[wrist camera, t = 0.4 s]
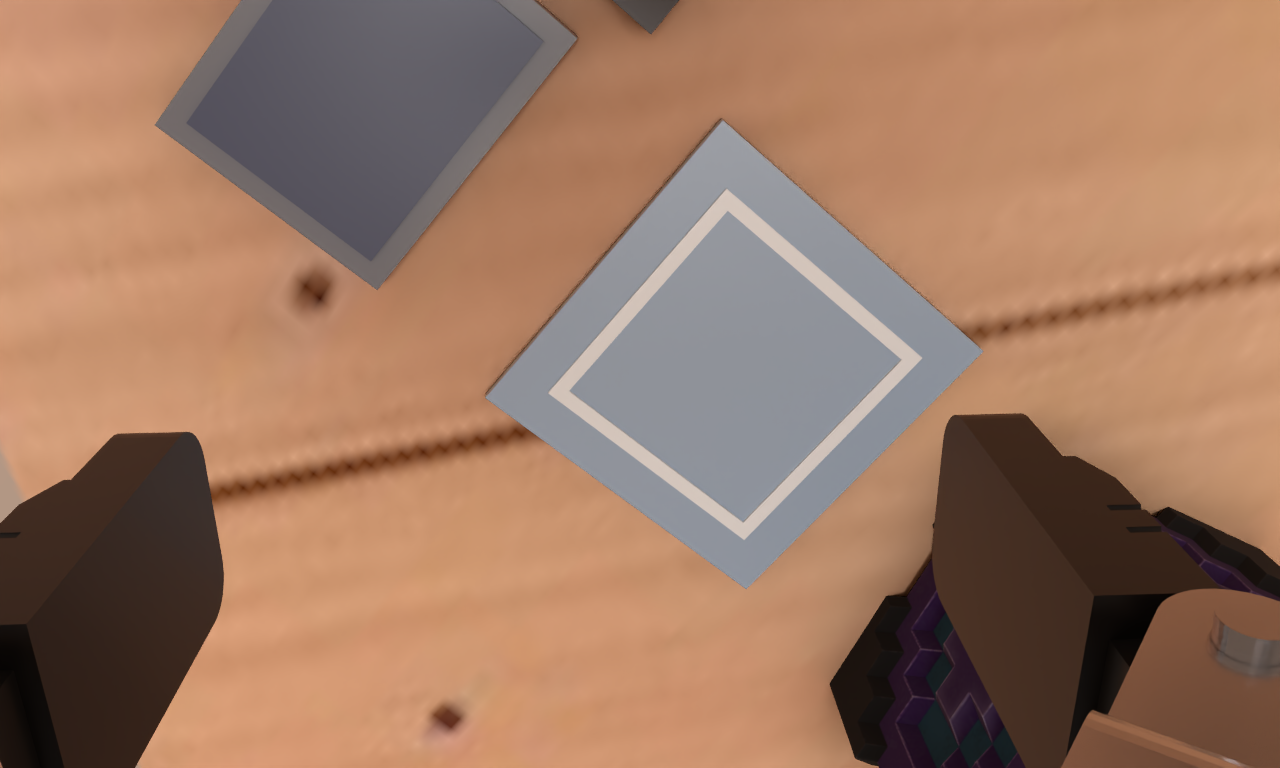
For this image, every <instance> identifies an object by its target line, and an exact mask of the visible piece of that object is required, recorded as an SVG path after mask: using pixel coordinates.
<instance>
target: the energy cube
mask: <svg viewBox="0 0 1280 768" xmlns="http://www.w3.org/2000/svg"><path fill="white" fill-rule="evenodd" d="M1152 517H1153V516H1152ZM1153 518H1154V519H1155V520H1156V521H1157V522H1158V523H1159V524H1160V525H1161V530H1162V532H1167V533H1168V534H1169V535H1170V536H1171V537H1172V538H1173V539H1174V540H1175V541H1176V542H1177V543H1178V544H1179V545H1180V546H1181V547H1182V548H1183V549H1184V550H1185V552H1186V553H1187V554H1188V555H1189V556H1190V557H1191V558H1192V559H1193V560H1194V561H1195V562H1196V563H1197V564H1198V565H1199V566H1200V567H1201V568H1202V569H1203V571H1204V572H1205V573H1206V574H1207V575H1208V576H1209V577H1210V578H1211V579H1212V580H1213V581H1214V582H1215V583H1216V584H1217V585H1218V586H1219V587H1220V588H1221V589H1226V590H1235V591H1241V592H1247V593H1252V594H1256V595H1260V596H1264V597H1267V598H1270V599H1273V600H1276V601H1280V566H1279V565H1277V564H1276V563H1275V562H1274V561H1273V560H1272V559H1271V558H1269V557H1268V556H1267V555H1266V554H1265V553H1264V552H1263V551H1261V550H1260V549H1258V548H1256V547H1254V546H1252V545H1250V544H1248V543H1245V542H1243V541H1241V540H1239V539H1237V538H1235V537H1233V536H1230V535H1228V534H1226V533H1224V532H1222V531H1220V530H1218V529H1215V528H1213V527H1211V526H1209V525H1207V524H1205V523H1202V522H1200V521H1198V520H1196V519H1194V518H1192V517H1189V516H1187V515H1185V514H1183V513H1181V512H1179V511H1176V510H1174V509H1172V508H1170V507H1167V508H1165V509H1164V510H1163V511H1162V512H1161V513H1160V514H1159V516H1158V517H1157V518H1155V517H1153ZM934 524H935V522H934V523H933V528H934ZM830 687H831V689H832V692H833V695H834V698H835V701H836V704H837V707H838V710H839V713H840V715H841V718H842V721H843V724H844V727H845V730H846V733H847V736H848V738H849V741H850V744H851V747H852V750H853V753H854V757H855V759H857V760H860V761H863V762H865V763H868V764H871V765H875V766H879V768H1026V767H1025V765H1024V763H1023V761H1022V759H1021V757H1020V755H1019V753H1018V751H1017V749H1016V747H1015V746H1014V744H1013V742H1012V740H1011V738H1010V736H1009V734H1008V732H1007V730H1006V728H1005V726H1004V724H1003V722H1002V720H1001V718H1000V716H999V714H998V712H997V710H996V708H995V707H994V705H993V703H992V701H991V699H990V697H989V695H988V693H987V691H986V689H985V687H984V685H983V683H982V681H981V679H980V677H979V675H978V673H977V671H976V669H975V668H974V666H973V664H972V662H971V660H970V658H969V656H968V654H967V652H966V650H965V648H964V646H963V644H962V642H961V640H960V638H959V636H958V634H957V632H956V630H955V629H954V627H953V625H952V623H951V621H950V619H949V617H948V615H947V613H946V611H945V609H944V607H943V605H942V603H941V601H940V599H939V596H938V593H937V589H936V585H935V580H934V573H933V563H932V559H931V561H930V562H929V564H928V565H927V567H926V568H925V570H924V572H923V573H922V575H921V576H920V578H919V579H918V581H917V582H916V584H915V585H914V587H913V588H912V590H911V591H910V593H909V594H908V596H907V597H898V596H886V597H885V599H884V600H883V602H882V604H881V605H880V607H879V608H878V610H877V612H876V613H875V615H874V616H873V618H872V619H871V621H870V622H869V624H868V625H867V627H866V628H865V630H864V632H863V633H862V635H861V636H860V638H859V639H858V641H857V642H856V644H855V645H854V647H853V648H852V650H851V652H850V653H849V655H848V656H847V658H846V659H845V661H844V662H843V664H842V665H841V667H840V668H839V670H838V672H837V673H836V675H835V676H834V678H833V679H832V681H831V682H830Z"/></svg>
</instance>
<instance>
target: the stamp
mask: <svg viewBox="0 0 1280 768" xmlns="http://www.w3.org/2000/svg"><path fill="white" fill-rule="evenodd" d="M613 1H614V2H615V3H616V4H617V5H618V6H620V7H621V8H622V9H623V10H624V11H625V12H626V13H627V14H629V15H630V16H631V17H632V18H633V19H634V20H635V21H636V22H637V23H639V24H640V25H641V26H642V27H643V28H644V29H645V30H646V31H648V32H649V33H650V34H652V33H653V32H654V30H655V29H656V28H657V27H658V25H659V24H660V23H661V22H662V21H663V19H664V18H665V17H666V16H667V14H668V13H669V12H670V11H671V9H672V8H673V7H674V6H675V5H676V3H677V2H678V1H679V0H613Z"/></svg>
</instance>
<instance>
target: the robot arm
mask: <svg viewBox="0 0 1280 768" xmlns="http://www.w3.org/2000/svg"><path fill="white" fill-rule="evenodd" d="M932 563H933V573H934V580H935V585H936V589H937V593H938V596H939V599H940V601H941V603H942V605H943V607H944V609H945V611H946V613H947V615H948V617H949V619H950V621H951V623H952V625H953V627H954V629H955V630H956V632H957V634H958V636H959V638H960V640H961V642H962V644H963V646H964V648H965V650H966V652H967V654H968V656H969V658H970V660H971V662H972V664H973V666H974V668H975V669H976V671H977V673H978V675H979V677H980V679H981V681H982V683H983V685H984V687H985V689H986V691H987V693H988V695H989V697H990V699H991V701H992V703H993V705H994V707H995V708H996V710H997V712H998V714H999V716H1000V718H1001V720H1002V722H1003V724H1004V726H1005V728H1006V730H1007V732H1008V734H1009V736H1010V738H1011V740H1012V742H1013V744H1014V746H1015V747H1016V749H1017V751H1018V753H1019V755H1020V757H1021V759H1022V761H1023V763H1024V765H1025V767H1026V768H1280V601H1276V600H1273V599H1270V598H1267V597H1264V596H1260V595H1256V594H1252V593H1247V592H1241V591H1235V590H1226V589H1221V588H1220V587H1219V586H1218V585H1217V584H1216V583H1215V582H1214V581H1213V580H1212V579H1211V578H1210V577H1209V576H1208V575H1207V574H1206V573H1205V572H1204V571H1203V569H1202V568H1201V567H1200V566H1199V565H1198V564H1197V563H1196V562H1195V561H1194V560H1193V559H1192V558H1191V557H1190V556H1189V555H1188V554H1187V553H1186V552H1185V550H1184V549H1183V548H1182V547H1181V546H1180V545H1179V544H1178V543H1177V542H1176V541H1175V540H1174V539H1173V538H1172V537H1171V536H1170V535H1169V534H1168V533H1167V532H1162V530H1161V525H1160V524H1159V523H1158V522H1157V521H1156V520H1155V519H1154V518H1153V517H1152V516H1151V515H1150V514H1149V512H1148V511H1147V510H1141V504H1140V503H1139V502H1138V501H1137V500H1136V499H1135V498H1134V497H1133V496H1132V494H1131V493H1130V492H1129V491H1128V490H1127V489H1126V488H1125V487H1124V486H1123V485H1122V484H1121V483H1120V482H1119V481H1118V480H1117V479H1116V478H1115V477H1113V476H1111V475H1109V474H1107V473H1106V472H1104V471H1102V470H1100V469H1098V468H1096V467H1095V466H1093V465H1091V464H1089V463H1087V462H1085V461H1083V460H1082V459H1080V458H1078V457H1076V456H1062V455H1061V454H1060V453H1059V452H1058V450H1057V449H1056V448H1055V447H1054V446H1053V445H1052V444H1051V443H1050V441H1049V440H1048V439H1047V438H1046V437H1045V436H1044V435H1043V434H1042V432H1041V431H1040V430H1039V429H1038V428H1037V427H1036V426H1035V424H1034V423H1033V422H1032V421H1031V420H1030V419H1029V418H1028V417H1027V416H1026V415H1024V414H981V415H954V416H952V417H951V418H950V419H949V421H948V423H947V426H946V429H945V434H944V440H943V448H942V458H941V467H940V476H939V486H938V495H937V505H936V514H935V524H934V533H933V544H932ZM223 583H224V571H223V561H222V555H221V549H220V544H219V538H218V532H217V527H216V521H215V516H214V510H213V504H212V499H211V493H210V488H209V482H208V476H207V471H206V465H205V460H204V455H203V451H202V448H201V445H200V443H199V441H198V439H197V438H196V436H195V435H194V434H192V433H190V432H172V433H130V434H116V435H114V436H113V437H112V438H110V439H109V441H108V442H107V443H106V444H105V445H104V446H103V447H102V448H101V449H100V450H99V451H98V452H97V453H96V454H95V455H94V456H93V457H92V458H91V459H90V461H89V462H88V463H87V464H86V465H85V466H84V467H83V468H82V469H81V470H80V471H79V472H78V473H77V474H76V475H75V476H74V477H73V478H72V479H71V480H63V481H61V482H59V483H57V484H56V485H54V486H52V487H50V488H48V489H47V490H45V491H43V492H41V493H39V494H38V495H36V496H34V497H32V498H30V499H29V500H27V501H25V502H23V503H21V504H19V505H18V506H17V507H16V508H15V509H14V510H13V511H12V512H11V513H10V514H9V515H8V516H7V517H6V518H5V519H4V520H3V521H2V522H1V523H0V768H135V767H136V765H137V763H138V761H139V759H140V758H141V756H142V754H143V752H144V750H145V749H146V747H147V745H148V743H149V741H150V739H151V738H152V736H153V734H154V732H155V730H156V728H157V727H158V725H159V723H160V721H161V719H162V718H163V716H164V714H165V712H166V710H167V708H168V707H169V705H170V703H171V701H172V699H173V698H174V696H175V694H176V692H177V690H178V688H179V687H180V685H181V683H182V681H183V679H184V678H185V676H186V674H187V672H188V670H189V668H190V667H191V665H192V663H193V661H194V659H195V657H196V656H197V654H198V652H199V650H200V648H201V647H202V645H203V643H204V641H205V639H206V637H207V636H208V634H209V632H210V630H211V628H212V627H213V625H214V623H215V621H216V619H217V616H218V613H219V610H220V606H221V601H222V595H223Z"/></svg>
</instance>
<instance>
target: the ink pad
mask: <svg viewBox="0 0 1280 768" xmlns="http://www.w3.org/2000/svg"><path fill="white" fill-rule="evenodd" d="M576 40H577V35H576V34H575V33H573V32H572V31H571V30H570V29H569V28H568V27H566V26H565V25H564V24H563V23H562V22H561V21H560V20H558V19H557V18H556V17H555V16H554V15H553V14H552V13H550V12H549V11H548V10H547V9H546V8H545V7H544V6H542V5H541V4H540V3H539V2H538V1H537V0H241V2H240V3H239V4H238V6H237V7H236V9H235V10H234V12H233V13H232V15H231V16H230V17H229V19H228V20H227V22H226V23H225V25H224V26H223V27H222V29H221V30H220V32H219V33H218V35H217V36H216V38H215V39H214V40H213V42H212V43H211V45H210V46H209V48H208V49H207V51H206V52H205V53H204V55H203V56H202V58H201V59H200V61H199V62H198V64H197V65H196V66H195V68H194V69H193V71H192V72H191V74H190V75H189V77H188V78H187V79H186V81H185V82H184V84H183V85H182V87H181V88H180V89H179V91H178V92H177V94H176V95H175V97H174V98H173V100H172V101H171V102H170V104H169V105H168V107H167V108H166V110H165V111H164V113H163V114H162V115H161V117H160V118H159V120H158V121H157V123H156V124H155V126H157V127H158V128H159V129H161V130H162V131H163V132H165V133H166V134H167V135H169V136H170V137H171V138H173V139H174V140H176V141H177V142H178V143H180V144H181V145H182V146H184V147H185V148H186V149H188V150H189V151H190V152H192V153H193V154H194V155H196V156H197V157H198V158H200V159H201V160H203V161H204V162H205V163H207V164H208V165H209V166H211V167H212V168H213V169H215V170H216V171H217V172H219V173H220V174H221V175H223V176H224V177H225V178H227V179H228V180H229V181H231V182H232V183H234V184H235V185H236V186H238V187H239V188H240V189H242V190H243V191H244V192H246V193H247V194H248V195H250V196H251V197H252V198H254V199H255V200H256V201H258V202H259V203H260V204H262V205H263V206H265V207H266V208H267V209H269V210H270V211H271V212H273V213H274V214H275V215H277V216H278V217H279V218H281V219H282V220H283V221H285V222H286V223H287V224H289V225H290V226H291V227H293V228H294V229H296V230H297V231H298V232H300V233H301V234H302V235H304V236H305V237H306V238H308V239H309V240H310V241H312V242H313V243H314V244H316V245H317V246H318V247H320V248H321V249H322V250H324V251H325V252H327V253H328V254H329V255H331V256H332V257H333V258H335V259H336V260H337V261H339V262H340V263H341V264H343V265H344V266H345V267H347V268H348V269H349V270H351V271H352V272H353V273H355V274H356V275H358V276H359V277H360V278H362V279H363V280H364V281H366V282H367V283H368V284H370V285H371V286H372V287H374V288H375V289H376V290H378V289H379V287H380V286H381V285H382V284H383V282H384V281H385V280H386V279H387V277H388V276H389V275H390V273H391V272H392V271H393V270H394V268H395V267H396V266H397V265H398V263H399V262H400V261H401V260H402V258H403V257H404V256H405V255H406V253H407V252H408V251H409V250H410V248H411V247H412V246H413V245H414V243H415V242H416V241H417V240H418V238H419V237H420V236H421V235H422V233H423V232H424V231H425V229H426V228H427V227H428V226H429V224H430V223H431V222H432V221H433V219H434V218H435V217H436V216H437V214H438V213H439V212H440V211H441V209H442V208H443V207H444V206H445V204H446V203H447V202H448V201H449V199H450V198H451V197H452V196H453V194H454V193H455V192H456V190H457V189H458V188H459V187H460V185H461V184H462V183H463V182H464V180H465V179H466V178H467V177H468V175H469V174H470V173H471V172H472V170H473V169H474V168H475V167H476V165H477V164H478V163H479V162H480V160H481V159H482V158H483V157H484V155H485V154H486V153H487V152H488V150H489V149H490V148H491V146H492V145H493V144H494V143H495V141H496V140H497V139H498V138H499V136H500V135H501V134H502V133H503V131H504V130H505V129H506V128H507V126H508V125H509V124H510V123H511V121H512V120H513V119H514V118H515V116H516V115H517V114H518V113H519V111H520V110H521V109H522V108H523V106H524V105H525V104H526V102H527V101H528V100H529V99H530V97H531V96H532V95H533V94H534V92H535V91H536V90H537V89H538V87H539V86H540V85H541V84H542V82H543V81H544V80H545V79H546V77H547V76H548V75H549V74H550V72H551V71H552V70H553V69H554V67H555V66H556V65H557V64H558V62H559V61H560V60H561V58H562V57H563V56H564V55H565V53H566V52H567V51H568V50H569V48H570V47H571V46H572V45H573V43H574V42H575V41H576Z"/></svg>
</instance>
